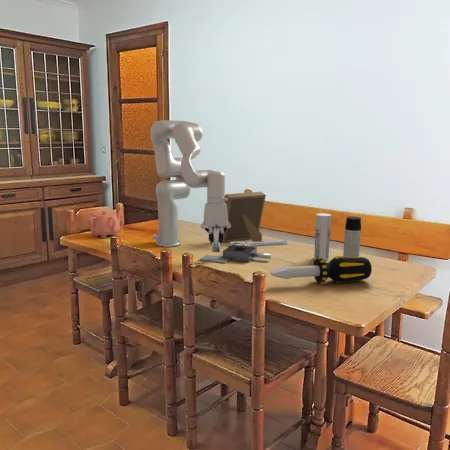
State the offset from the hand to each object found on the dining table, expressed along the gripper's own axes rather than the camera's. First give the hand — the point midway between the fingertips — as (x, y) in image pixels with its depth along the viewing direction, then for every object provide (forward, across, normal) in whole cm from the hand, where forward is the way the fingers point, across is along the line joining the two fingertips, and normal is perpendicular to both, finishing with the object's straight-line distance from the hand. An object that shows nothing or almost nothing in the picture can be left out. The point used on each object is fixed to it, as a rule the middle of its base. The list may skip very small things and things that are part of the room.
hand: (215, 241), depth 204 cm
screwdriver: (+9, -35, +37) cm, 52 cm away
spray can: (+9, -57, +12) cm, 59 cm away
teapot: (+8, +52, -55) cm, 76 cm away
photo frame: (+8, -19, -32) cm, 38 cm away
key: (+4, 0, 0) cm, 4 cm away
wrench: (+7, -26, -20) cm, 34 cm away
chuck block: (+8, -15, 0) cm, 17 cm away
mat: (+8, 0, 0) cm, 8 cm away
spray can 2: (+9, -47, +4) cm, 48 cm away
